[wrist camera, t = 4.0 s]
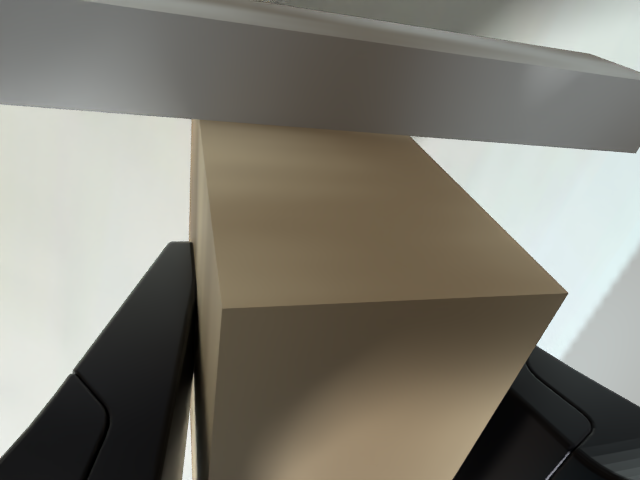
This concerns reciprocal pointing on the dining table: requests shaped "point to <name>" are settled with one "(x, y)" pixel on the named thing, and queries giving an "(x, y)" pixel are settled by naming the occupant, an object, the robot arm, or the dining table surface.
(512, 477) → the robot arm
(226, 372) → the scraper
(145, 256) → the dining table surface
